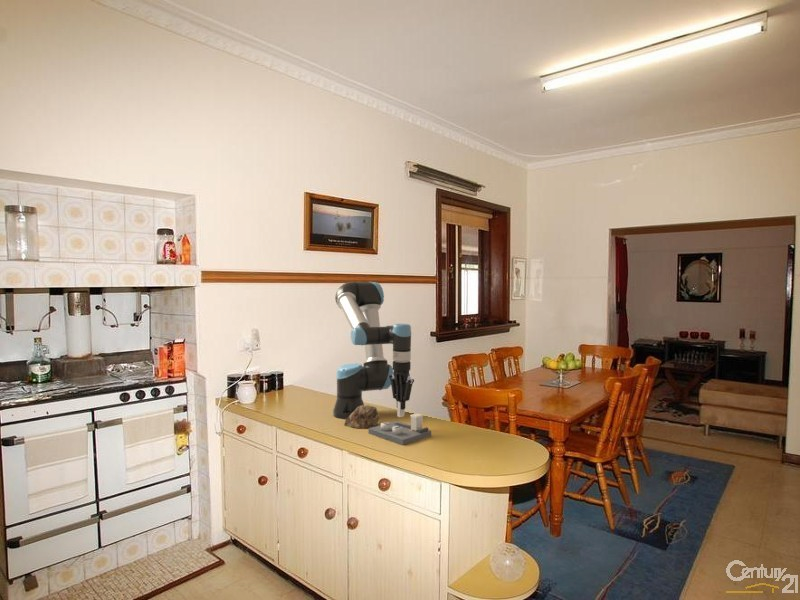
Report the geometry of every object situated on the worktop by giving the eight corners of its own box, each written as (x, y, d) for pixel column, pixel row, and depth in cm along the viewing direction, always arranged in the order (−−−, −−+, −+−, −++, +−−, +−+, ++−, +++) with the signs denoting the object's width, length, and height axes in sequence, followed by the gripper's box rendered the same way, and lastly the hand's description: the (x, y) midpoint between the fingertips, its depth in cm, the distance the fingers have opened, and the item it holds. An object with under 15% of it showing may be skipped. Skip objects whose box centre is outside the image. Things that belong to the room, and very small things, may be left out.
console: (368, 433, 195) (368, 422, 195) (397, 425, 206) (397, 415, 206) (402, 445, 180) (402, 433, 180) (431, 435, 192) (431, 424, 192)
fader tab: (410, 429, 193) (410, 415, 193) (417, 427, 196) (417, 413, 196) (416, 431, 190) (416, 416, 190) (423, 429, 193) (423, 414, 193)
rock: (353, 422, 214) (340, 428, 205) (352, 403, 214) (339, 408, 205) (381, 424, 207) (368, 430, 198) (379, 404, 207) (367, 410, 198)
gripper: (384, 359, 201) (383, 414, 203) (406, 364, 192) (405, 421, 193) (397, 357, 207) (396, 411, 208) (419, 361, 197) (418, 418, 198)
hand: (400, 416), depth 201 cm, fingers closed
